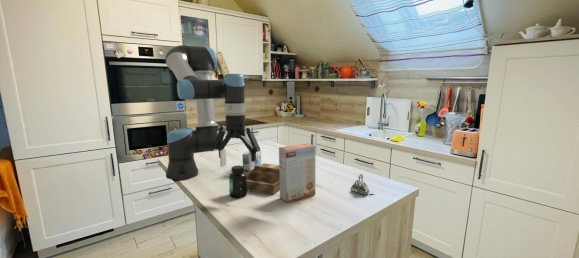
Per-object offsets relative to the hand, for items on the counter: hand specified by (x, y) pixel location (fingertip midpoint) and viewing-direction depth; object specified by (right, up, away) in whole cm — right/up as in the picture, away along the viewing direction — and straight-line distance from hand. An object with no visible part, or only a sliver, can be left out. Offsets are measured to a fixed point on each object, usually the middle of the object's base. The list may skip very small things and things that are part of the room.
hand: (237, 167), depth 107 cm
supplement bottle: (0, -12, +3) cm, 12 cm away
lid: (+13, -4, +22) cm, 26 cm away
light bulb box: (+1, -7, +33) cm, 34 cm away
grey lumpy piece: (+53, -11, +9) cm, 55 cm away
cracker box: (+24, -12, +1) cm, 27 cm away
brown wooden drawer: (+9, -10, +12) cm, 18 cm away
